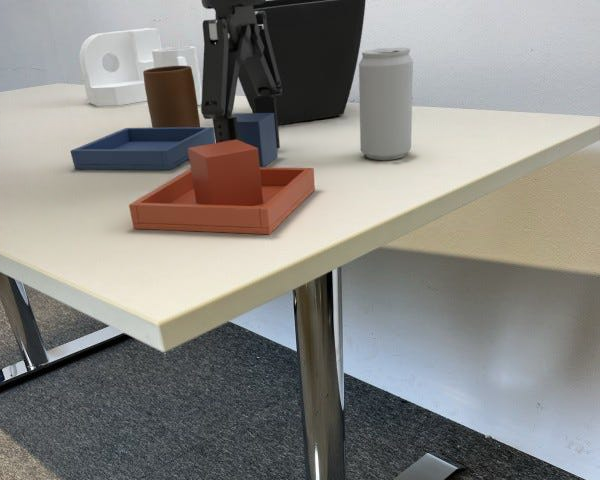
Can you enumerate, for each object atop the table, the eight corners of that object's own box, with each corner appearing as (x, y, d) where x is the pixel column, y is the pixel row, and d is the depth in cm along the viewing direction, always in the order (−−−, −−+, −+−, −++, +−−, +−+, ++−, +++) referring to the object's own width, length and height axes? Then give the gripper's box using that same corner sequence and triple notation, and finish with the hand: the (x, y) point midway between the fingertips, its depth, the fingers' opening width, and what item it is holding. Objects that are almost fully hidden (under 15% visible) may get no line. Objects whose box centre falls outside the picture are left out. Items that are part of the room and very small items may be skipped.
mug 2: (157, 104, 131) (147, 49, 126) (198, 99, 134) (190, 45, 128) (170, 112, 122) (160, 54, 117) (214, 106, 124) (206, 48, 119)
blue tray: (74, 168, 89) (70, 150, 88) (129, 144, 100) (126, 127, 99) (169, 170, 85) (166, 150, 83) (215, 144, 96) (213, 126, 95)
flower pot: (257, 133, 101) (244, 6, 92) (229, 114, 116) (216, 4, 107) (369, 117, 105) (368, -6, 96) (328, 101, 120) (324, -6, 111)
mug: (144, 129, 110) (132, 67, 105) (187, 123, 112) (178, 61, 107) (159, 141, 100) (147, 73, 95) (206, 134, 103) (197, 67, 97)
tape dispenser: (158, 91, 147) (147, 28, 140) (175, 96, 139) (164, 29, 132) (88, 102, 141) (73, 36, 134) (101, 107, 133) (86, 37, 126)
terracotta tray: (133, 228, 65) (128, 204, 64) (196, 187, 77) (193, 166, 75) (269, 234, 61) (267, 209, 60) (315, 189, 72) (313, 167, 71)
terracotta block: (213, 214, 65) (205, 157, 62) (195, 201, 70) (187, 147, 67) (263, 203, 67) (258, 147, 64) (242, 191, 71) (236, 139, 68)
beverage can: (381, 164, 80) (381, 54, 73) (350, 155, 84) (348, 51, 78) (421, 154, 82) (424, 47, 76) (389, 147, 87) (390, 45, 80)
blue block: (223, 167, 84) (217, 122, 81) (239, 157, 88) (234, 113, 85) (263, 168, 82) (258, 121, 79) (277, 157, 86) (274, 112, 83)
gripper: (215, -36, 63) (242, 188, 74) (296, -39, 82) (307, 138, 94) (146, -29, 65) (183, 187, 76) (241, -34, 84) (259, 139, 96)
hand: (252, 161), depth 85 cm, fingers open, 13 cm apart
